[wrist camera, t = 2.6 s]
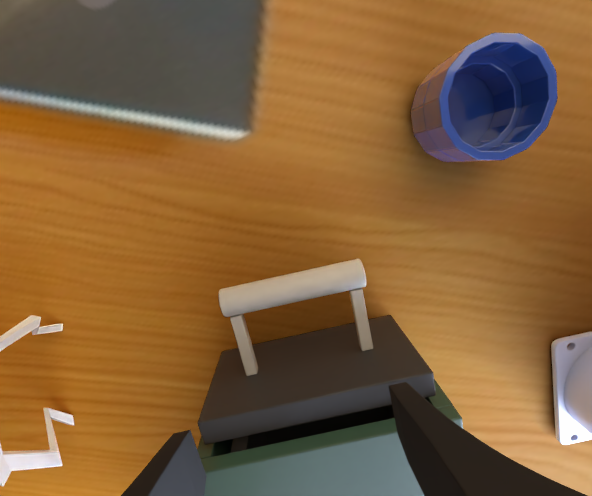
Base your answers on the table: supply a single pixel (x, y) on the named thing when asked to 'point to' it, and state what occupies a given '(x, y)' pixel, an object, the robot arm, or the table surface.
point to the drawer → (307, 366)
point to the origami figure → (34, 459)
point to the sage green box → (320, 463)
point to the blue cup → (486, 100)
